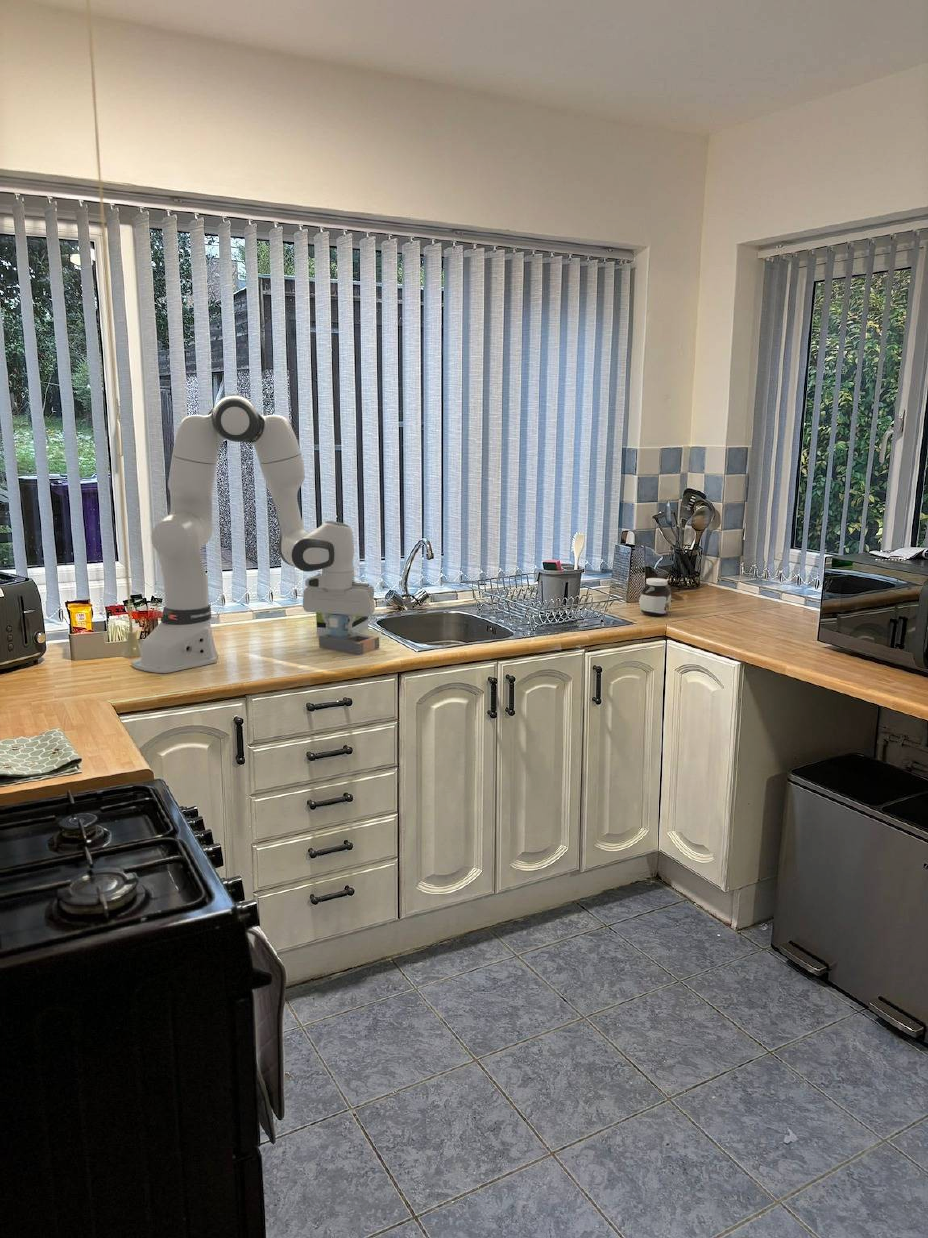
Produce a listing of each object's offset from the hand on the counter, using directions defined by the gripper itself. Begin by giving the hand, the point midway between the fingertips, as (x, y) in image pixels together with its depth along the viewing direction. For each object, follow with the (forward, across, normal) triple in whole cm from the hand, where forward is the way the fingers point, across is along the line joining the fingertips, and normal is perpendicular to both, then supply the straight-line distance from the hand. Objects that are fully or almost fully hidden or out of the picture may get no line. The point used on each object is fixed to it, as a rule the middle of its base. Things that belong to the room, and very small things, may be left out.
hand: (339, 629), depth 259 cm
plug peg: (+5, 0, 0) cm, 5 cm away
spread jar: (+6, -81, -76) cm, 111 cm away
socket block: (+6, -3, +1) cm, 7 cm away
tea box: (+6, +5, -15) cm, 17 cm away
